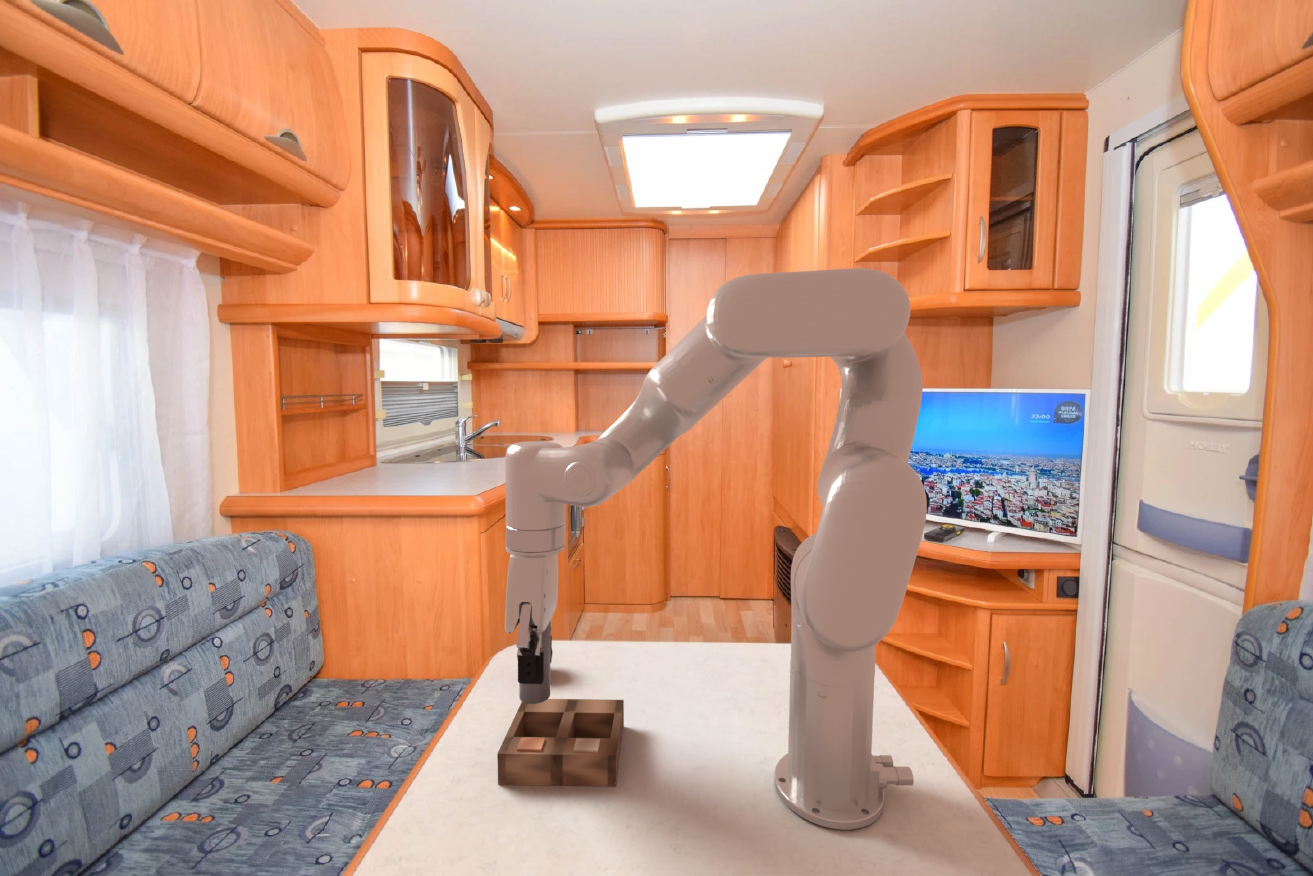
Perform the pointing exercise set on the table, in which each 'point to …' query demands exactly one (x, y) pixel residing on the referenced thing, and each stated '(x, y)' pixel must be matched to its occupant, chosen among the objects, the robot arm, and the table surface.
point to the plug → (542, 691)
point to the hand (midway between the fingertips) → (535, 671)
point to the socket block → (563, 743)
